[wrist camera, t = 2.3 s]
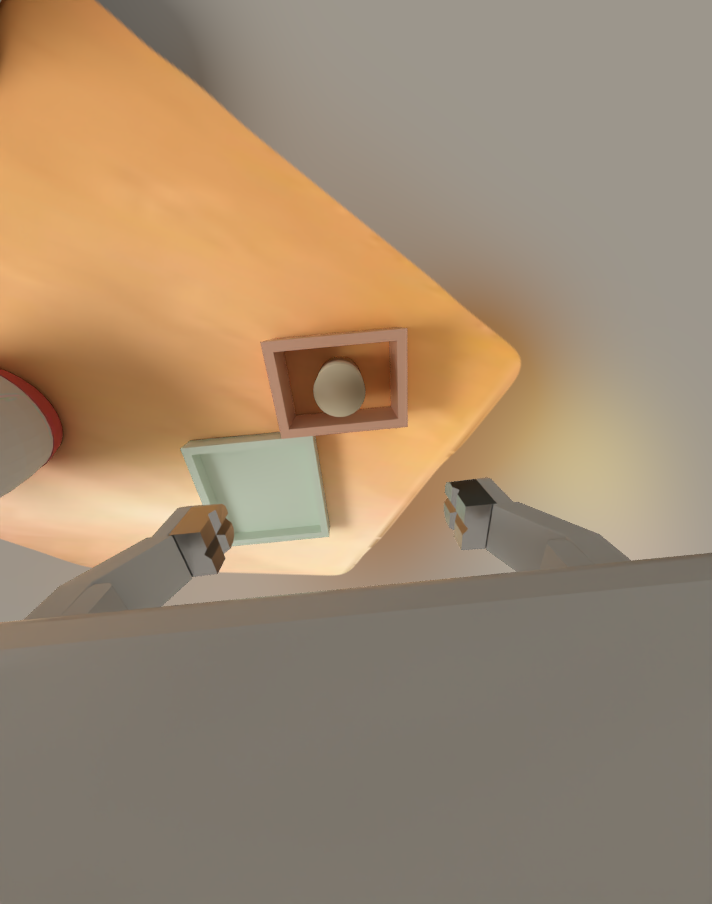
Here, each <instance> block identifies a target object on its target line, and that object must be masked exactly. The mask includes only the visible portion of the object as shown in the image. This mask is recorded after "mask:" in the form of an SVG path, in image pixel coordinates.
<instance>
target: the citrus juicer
mask: <svg viewBox="0 0 712 904" xmlns="http://www.w3.org/2000/svg"><path fill="white" fill-rule="evenodd" d="M61 441H62V426H61V422H60V419H59V417H58V415H57V413H56V411H55V410H54V408H53V407H52V405H51V404H50V402H49V401H48V400H47V399H46V398H45V397H44V396H43V395H42V394H41V393H40V392H39V391H38V390H37V389H35V388H34V387H33V386H32V385H30V384H29V383H27V382H26V381H24V380H23V379H21V378H20V377H18V376H16V375H14V374H12V373H10V372H7V371H4V370H1V369H0V497H2V496H4V495H5V494H7V493H9V492H11V491H12V490H13V489H15V488H16V487H17V486H19V485H20V484H21V483H23V482H24V481H25V480H27V479H28V478H29V477H31V476H32V475H33V474H34V473H35V472H36V471H37V470H39V469H40V468H41V467H42V466H44V465H45V464H46V463H47V462H48V461H49V460H50V459H51V457H52V456H53V455H54V453H55V452H56V450H57V449H58V448H59V446H60V444H61Z"/></svg>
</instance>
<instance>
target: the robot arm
mask: <svg viewBox="0 0 712 904" xmlns="http://www.w3.org/2000/svg"><path fill="white" fill-rule="evenodd" d="M0 2H1V0H0ZM445 493H446V495H447V497H448V498H447V499H446V501H445V502H444V514H445V518H446V522H447V524H448V526H449V528H451V529H453V530H454V537H455V540H456V541H457V543H458V545H459V547H460V549H461V550H469V549H485V548H486V550H487V551H489V552H490V553H492V554H493V555H494V556H496V557H497V558H498V559H500V560H501V561H503V562H504V563H505V564H507V565H508V566H510V567H511V568H512V569H514V570H515V571H516V572H511V573H501V574H491V575H481V576H471V577H462V578H461V577H460V578H450V579H440V580H430V581H419V582H409V583H399V584H388V585H378V586H367V587H357V588H348V589H337V590H327V591H318V592H307V593H298V594H288V595H278V596H267V597H256V598H246V599H236V600H226V601H215V602H205V603H194V604H185V605H174V606H164V607H162V606H163V605H164V603H166V602H167V601H168V600H169V599H170V598H171V597H172V596H174V595H175V594H176V593H177V592H178V591H179V590H180V589H181V588H182V587H183V586H184V585H186V584H187V583H188V582H189V581H190V580H191V579H192V577H196V576H204V575H211V574H218V572H219V570H220V568H221V566H222V564H223V562H224V560H225V556H224V553H225V552H227V551H228V550H229V549H230V548H231V546H232V544H233V540H234V528H233V525H232V523H231V522H230V521H229V520H227V519H226V517H227V515H228V511H227V509H226V506H225V505H223V504H211V505H198V506H186V507H180V508H177V510H176V511H175V512H174V513H173V514H172V515H171V516H170V517H169V518H168V520H167V521H166V522H165V523H164V524H163V525H162V526H161V527H160V528H159V529H158V531H157V532H156V533H155V534H154V535H153V536H152V537H150V538H146V539H144V540H142V541H140V542H138V543H137V544H135V545H133V546H131V547H129V548H128V549H126V550H124V551H122V552H120V553H119V554H117V555H115V556H113V557H111V558H110V559H108V560H106V561H104V562H102V563H101V564H99V565H97V566H95V567H93V568H92V569H90V570H88V571H86V572H84V573H83V574H81V575H79V576H77V577H75V578H74V579H72V580H70V581H68V582H67V583H65V584H63V585H61V586H59V587H58V588H57V589H56V590H55V591H54V592H53V593H52V594H51V595H50V596H48V597H47V599H45V600H44V601H43V602H42V603H41V604H40V605H39V606H38V607H37V608H36V609H34V610H33V611H32V612H31V613H30V614H29V615H28V616H27V617H26V618H25V619H24V620H20V621H9V622H0V904H712V553H705V554H695V555H684V556H674V557H665V558H654V559H643V560H633V561H631V560H630V559H629V558H628V557H626V556H625V555H624V554H623V553H622V552H620V551H619V550H618V549H617V548H615V547H614V546H613V545H612V544H611V543H609V542H608V541H607V540H606V539H604V538H603V537H602V536H601V535H600V534H597V533H595V532H592V531H590V530H587V529H585V528H582V527H580V526H577V525H575V524H572V523H570V522H567V521H565V520H562V519H560V518H557V517H555V516H552V515H550V514H547V513H545V512H542V511H540V510H537V509H535V508H532V507H530V506H527V505H525V504H522V503H519V502H513V501H512V500H511V499H510V498H509V497H508V496H507V495H506V494H505V493H504V492H503V491H502V490H501V489H500V488H499V487H498V486H497V485H496V484H495V483H494V481H492V479H490V478H488V477H485V478H478V479H472V480H463V481H454V482H447V483H446V485H445Z"/></svg>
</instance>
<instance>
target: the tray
mask: <svg viewBox="0 0 712 904" xmlns="http://www.w3.org/2000/svg"><path fill="white" fill-rule="evenodd" d="M180 449H181V452H182V454H183V457H184V459H185V462H186V464H187V467H188V469H189V472H190V474H191V477H192V479H193V482H194V484H195V487H196V489H197V492H198V494H199V497H200V499H201V502H202V504H203V505H211V504H223V505H225V506H226V509H227V511H228V515H227V517H226V519H227V520H229V521H230V522H231V523H232V525H233V528H234V540H233V544H232V546H240V545H250V544H260V543H270V542H281V541H291V540H301V539H311V538H321V537H329V531H330V524H329V518H328V511H327V505H326V499H325V493H324V487H323V480H322V474H321V468H320V462H319V455H318V449H317V443H316V437H315V436H307V437H296V438H286V439H282V438H281V433H280V432H275V433H264V434H254V435H243V436H233V437H223V438H212V439H202V440H191V441H189V442H188V443H186V444H185V445H184V446H183V447H181V448H180Z"/></svg>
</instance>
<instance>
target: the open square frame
mask: <svg viewBox="0 0 712 904" xmlns="http://www.w3.org/2000/svg"><path fill="white" fill-rule="evenodd" d="M387 341H389V355H390V389H391V406H388V407H378V408H368V409H358V410H357V411H356V412H355V413H353V414H351V415H349V416H345V417H335V416H331V415H329V414H327V413H315V414H305V415H296V413H295V408H294V403H293V397H292V392H291V387H290V381H289V376H288V371H287V365H286V360H285V355H284V351H291V350H302V349H313V348H323V347H334V346H344V345H355V344H366V343H376V342H387ZM260 343H261V347H262V352H263V356H264V361H265V365H266V370H267V374H268V379H269V383H270V388H271V393H272V397H273V402H274V406H275V411H276V415H277V420H278V424H279V429H280V433H281V438H282V439H286V438H296V437H307V436H317V435H328V434H338V433H348V432H359V431H369V430H380V429H390V428H400V427H408V415H407V328H401V327H394V328H383V329H373V330H362V331H351V332H341V333H330V334H320V335H309V336H298V337H288V338H277V339H270V340H266V341H263V342H260Z"/></svg>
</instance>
